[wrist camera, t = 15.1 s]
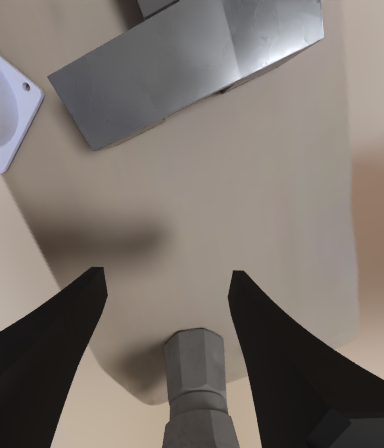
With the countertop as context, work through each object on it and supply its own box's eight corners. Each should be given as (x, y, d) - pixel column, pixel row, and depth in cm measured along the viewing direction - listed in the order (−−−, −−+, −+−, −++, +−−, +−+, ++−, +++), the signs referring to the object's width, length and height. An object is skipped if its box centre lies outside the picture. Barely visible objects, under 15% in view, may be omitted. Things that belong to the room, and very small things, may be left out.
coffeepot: (173, 312, 25) (161, 630, 9) (240, 322, 27) (328, 610, 11) (152, 377, 32) (123, 633, 16) (207, 382, 33) (231, 620, 17)
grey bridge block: (279, 66, 15) (323, 37, 10) (117, 145, 16) (93, 151, 12) (267, -4, 13) (314, -76, 8) (87, 92, 15) (47, 76, 10)
